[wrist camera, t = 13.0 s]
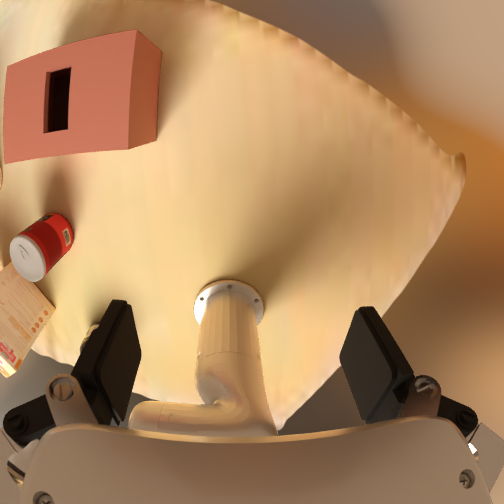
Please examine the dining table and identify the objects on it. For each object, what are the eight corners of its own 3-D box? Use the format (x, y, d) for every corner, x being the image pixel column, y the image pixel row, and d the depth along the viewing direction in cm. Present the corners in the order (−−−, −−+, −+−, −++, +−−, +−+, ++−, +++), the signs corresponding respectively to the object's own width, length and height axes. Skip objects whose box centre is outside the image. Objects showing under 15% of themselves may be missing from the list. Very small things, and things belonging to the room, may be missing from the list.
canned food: (53, 202, 40) (17, 226, 30) (82, 233, 43) (51, 262, 33) (37, 231, 42) (4, 257, 32) (64, 259, 45) (35, 290, 35)
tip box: (156, 140, 38) (128, 149, 27) (49, 149, 36) (4, 164, 25) (162, 51, 32) (136, 29, 21) (51, 71, 30) (7, 66, 19)
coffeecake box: (4, 271, 45) (-44, 322, 28) (15, 256, 44) (-39, 309, 26) (43, 320, 51) (6, 379, 34) (57, 309, 50) (16, 372, 32)
